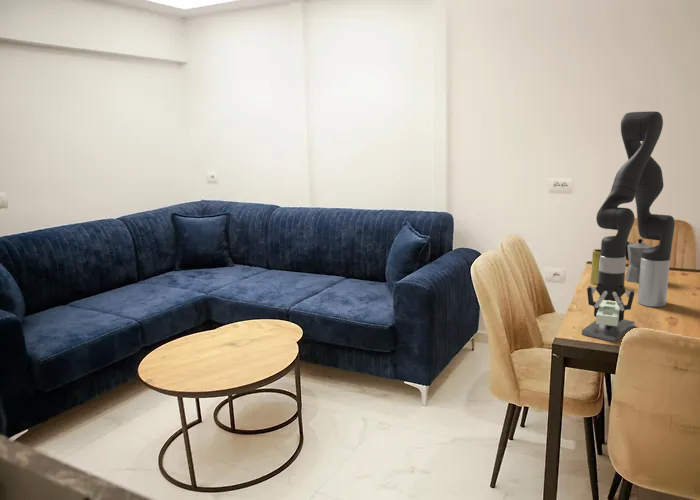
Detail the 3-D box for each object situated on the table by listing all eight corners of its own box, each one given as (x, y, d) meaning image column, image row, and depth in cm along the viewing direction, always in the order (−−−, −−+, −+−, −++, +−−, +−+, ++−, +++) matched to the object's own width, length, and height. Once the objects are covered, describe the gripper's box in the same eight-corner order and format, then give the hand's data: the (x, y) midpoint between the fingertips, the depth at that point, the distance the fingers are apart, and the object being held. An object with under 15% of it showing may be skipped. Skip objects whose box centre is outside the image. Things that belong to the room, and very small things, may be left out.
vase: (607, 285, 221) (609, 252, 218) (591, 285, 222) (593, 252, 219) (603, 281, 226) (605, 249, 223) (588, 281, 228) (590, 248, 225)
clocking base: (603, 319, 182) (604, 302, 181) (634, 325, 175) (635, 308, 174) (581, 334, 170) (582, 316, 169) (614, 342, 163) (615, 323, 162)
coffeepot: (658, 283, 221) (662, 240, 217) (639, 285, 219) (642, 242, 215) (631, 274, 236) (634, 234, 232) (613, 276, 234) (615, 236, 230)
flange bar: (601, 308, 180) (601, 300, 179) (620, 310, 177) (621, 302, 176) (595, 323, 167) (596, 314, 166) (617, 326, 164) (617, 317, 163)
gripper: (585, 270, 169) (583, 320, 172) (636, 274, 162) (633, 326, 165) (588, 264, 175) (586, 313, 179) (638, 268, 168) (634, 318, 172)
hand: (608, 319), depth 172 cm, fingers closed on flange bar, 6 cm apart
